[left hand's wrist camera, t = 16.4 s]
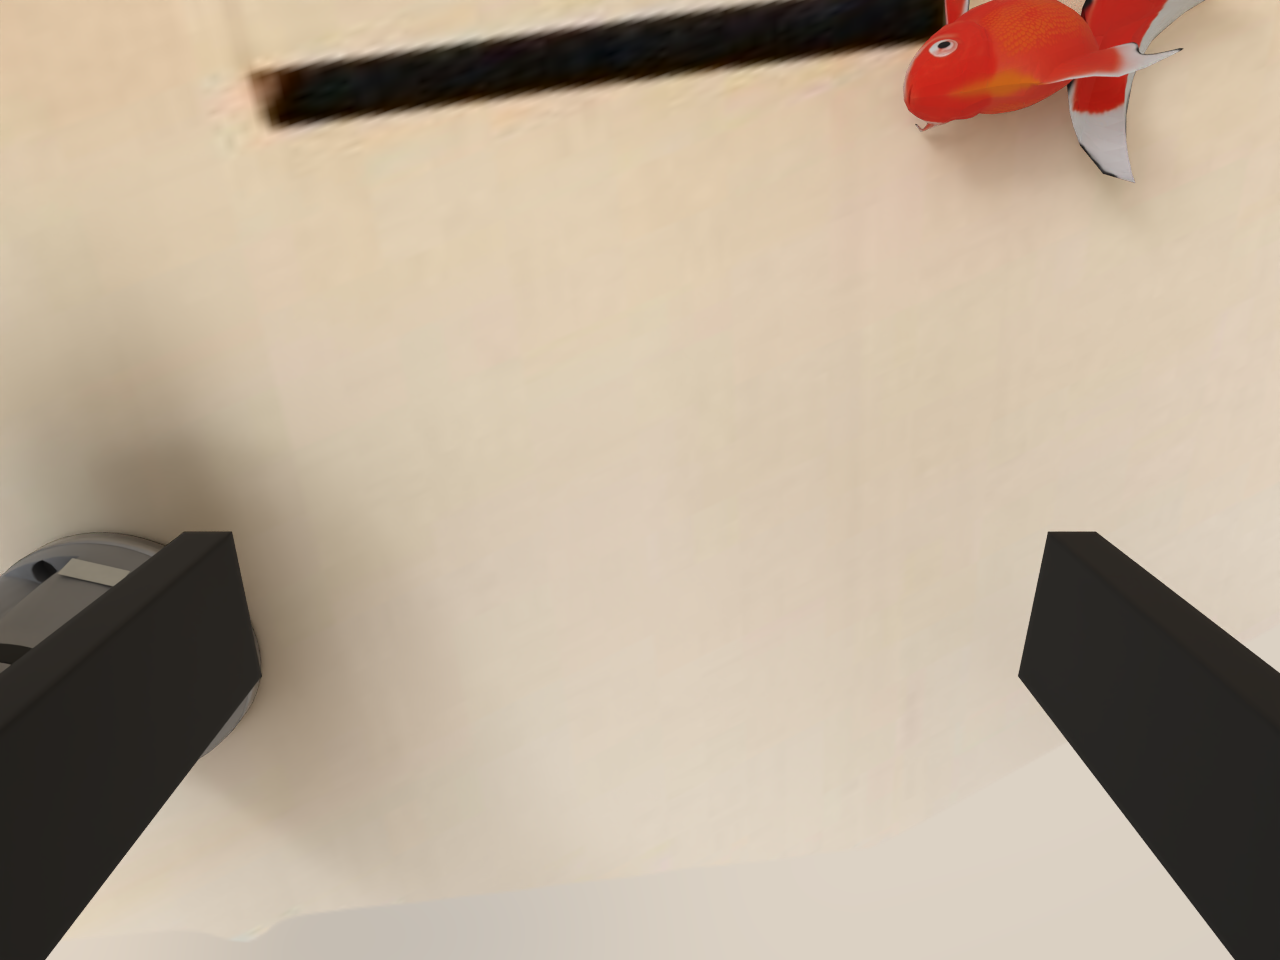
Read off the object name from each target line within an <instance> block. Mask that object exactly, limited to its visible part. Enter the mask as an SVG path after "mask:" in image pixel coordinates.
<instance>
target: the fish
mask: <svg viewBox="0 0 1280 960" xmlns="http://www.w3.org/2000/svg"><path fill="white" fill-rule="evenodd" d="M1203 1H1204V0H1086V1H1085V3H1084V5H1083V8H1082V13H1081V16H1080V15H1079V14H1078V13H1077V12H1075V11H1074V10H1073V9H1071V8H1069V7H1068V6H1066V5H1064V4H1062V3H1061V2H1059V1H1057V0H993V1H990V2H987V3H985V4H982V5H979V6H977V7H975V8H972V9H971V10H969V0H945V13H946V25H945V26H944V27H943V28H941V29H940V30H939V31H938V32H936V33H935V34H934V35H933V36H932V37H931V38H930V39H929V40H928V41H926V42H925V44H924V45H923V46H922V47H921V48H920V50H919V51H918V52H917V53H916V55H915V57H914V58H913V60H912V61H911V63H910V65H909V67H908V69H907V72H906V76H905V81H904V86H903V92H904V101H905V103H906V106H907V108H908V110H909V111H910V112H911V113H913V114H914V115H915V116H917V117H918V118H920V119H922V120H924V121H926V122H927V125H926V126H925V128H924V129H921V128H920V127H919V126H918V125H917V124H915V125H916V126H917V128H918V129H919V130H920V132H921V131H924V130H927V129H930V128H932V127H935V126H937V125H942V124H945V123H947V122H949V121H952V120H956V119H968V118H971V117H974V116H976V115H977V114H978V113H981V114H998V113H1004V112H1010V111H1015V110H1019V109H1022V108H1025V107H1028V106H1030V105H1033V104H1035V103H1037V102H1039V101H1041V100H1043V99H1045V98H1047V97H1048V96H1050V95H1052V94H1054V93H1055V92H1057V91H1058V90H1060V89H1061V88H1063V87H1064V86H1066V85H1067V88H1068V100H1069V110H1070V115H1071V119H1072V123H1073V127H1074V130H1075V133H1076V135H1077V138H1078V141H1079V143H1080V146H1081V147H1082V148H1083V149H1084V151H1085V152H1086V153H1087V154H1088V156H1089V157H1090V158H1091V159H1092V160H1093V162H1094V163H1095V164H1096V165H1097V167H1098V168H1099V169H1100V170H1101V172H1102V173H1103V174H1106V175H1110V176H1113V177H1117V178H1120V179H1123V180H1127V181H1130V182H1134V183H1135V180H1134V178H1133V175H1132V171H1131V166H1130V162H1129V156H1128V150H1127V142H1126V113H1127V108H1128V102H1129V97H1130V91H1131V85H1132V81H1133V78H1134V75H1135V72H1136V71H1137V70H1140V69H1143V68H1146V67H1148V66H1150V65H1152V64H1154V63H1156V62H1158V61H1160V60H1162V59H1164V58H1166V57H1169V56H1171V55H1173V54H1175V53H1177V52H1179V51H1181V50H1182V49H1184V48H1179V49H1175V50H1171V51H1166V52H1161V53H1157V54H1148V55H1147V54H1144V53H1145V51H1146V49H1147V47H1148V46H1149V44H1150V43H1151V41H1152V40H1153V39H1154V38H1155V37H1156V36H1157V35H1158V34H1160V33H1161V32H1162V31H1163V30H1164V29H1165V28H1166V27H1167V26H1169V25H1170V24H1171V23H1172V22H1173V21H1175V20H1176V19H1177V18H1178V17H1179V16H1181V15H1182V14H1183V13H1185V12H1186V11H1188V10H1189V9H1191V8H1193V7H1194V6H1196V5H1198V4H1199V3H1201V2H1203ZM968 10H969V11H968Z"/></svg>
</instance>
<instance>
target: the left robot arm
mask: <svg viewBox="0 0 1280 960" xmlns="http://www.w3.org/2000/svg"><path fill="white" fill-rule="evenodd" d="M261 677H262V674H261V660H260V651H259V647H258V642H257V639H256V636H255V633H254V630H253V628H252V626H251V621H250V616H249V612H248V607H247V602H246V597H245V592H244V588H243V583H242V578H241V573H240V568H239V563H238V559H237V554H236V549H235V544H234V539H233V535H232V532H183V533H182V534H181V535H179V536H178V537H177V538H175V539H174V540H173V541H171V542H170V543H169V544H168V545H166V546H164V545H161V544H159V543H156V542H153V541H150V540H147V539H143V538H139V537H135V536H130V535H124V534H116V533H86V534H78V535H73V536H68V537H65V538H61V539H58V540H55V541H53V542H51V543H48V544H46V545H44V546H42V547H41V548H39V549H37V550H36V551H34V552H32V553H31V554H29V555H27V556H26V557H24V558H23V559H21V560H19V561H18V562H17V563H15V564H14V565H13V566H11V567H10V568H9V569H8V570H7V571H6V572H5V573H4V574H2V575H1V576H0V960H45V959H46V958H47V957H48V955H49V954H50V953H51V951H52V950H53V949H54V948H55V946H56V945H57V944H58V942H59V941H60V940H61V938H62V937H63V936H64V934H65V933H66V932H67V931H68V929H69V928H70V927H71V925H72V924H73V923H74V921H75V920H76V919H77V917H78V916H79V915H80V914H81V912H82V911H83V910H84V908H85V907H86V906H87V904H88V903H89V902H90V900H91V899H92V898H93V897H94V895H95V894H96V893H97V891H98V890H99V889H100V887H101V886H102V885H103V883H104V882H105V881H106V880H107V878H108V877H109V876H110V874H111V873H112V872H113V870H114V869H115V868H116V866H117V865H118V864H119V862H120V861H121V860H122V859H123V857H124V856H125V855H126V853H127V852H128V851H129V849H130V848H131V847H132V845H133V844H134V843H135V842H136V840H137V839H138V838H139V836H140V835H141V834H142V832H143V831H144V830H145V828H146V827H147V826H148V825H149V823H150V822H151V821H152V819H153V818H154V817H155V815H156V814H157V813H158V811H159V810H160V809H161V808H162V806H163V805H164V804H165V802H166V801H167V800H168V798H169V797H170V796H171V794H172V793H173V792H174V791H175V789H176V788H177V787H178V785H179V784H180V783H181V781H182V780H183V779H184V777H185V776H186V775H187V773H188V772H189V771H190V770H191V768H192V767H193V766H194V764H195V763H196V762H197V760H198V759H199V758H201V757H203V756H204V755H206V754H207V753H208V752H210V751H211V750H212V749H214V748H215V747H216V746H217V745H218V744H219V743H220V742H221V741H222V740H223V739H224V738H226V737H227V736H228V735H229V734H230V733H231V731H232V730H233V729H234V728H235V727H236V725H237V724H238V723H239V721H240V720H241V718H242V717H243V716H244V714H245V713H246V712H247V710H248V709H249V707H250V706H251V704H252V702H253V700H254V698H255V695H256V693H257V689H258V685H259V681H260V678H261ZM1018 677H1019V678H1020V679H1021V681H1022V682H1023V683H1024V684H1025V686H1026V687H1027V688H1028V690H1029V691H1030V692H1031V694H1032V695H1033V696H1034V698H1035V699H1036V700H1037V702H1038V703H1039V704H1040V705H1041V707H1042V708H1043V709H1044V711H1045V712H1046V713H1047V715H1048V716H1049V717H1050V719H1051V720H1052V721H1053V722H1054V724H1055V725H1056V726H1057V728H1058V729H1059V730H1060V732H1061V733H1062V734H1063V736H1064V737H1065V738H1066V739H1067V741H1068V742H1069V743H1070V745H1071V746H1072V747H1073V749H1074V750H1075V751H1076V753H1077V754H1078V755H1079V756H1080V758H1081V759H1082V760H1083V762H1084V763H1085V764H1086V766H1087V767H1088V768H1089V770H1090V771H1091V772H1092V773H1093V775H1094V776H1095V777H1096V779H1097V780H1098V781H1099V783H1100V784H1101V785H1102V787H1103V788H1104V789H1105V791H1106V792H1107V793H1108V794H1109V796H1110V797H1111V798H1112V800H1113V801H1114V802H1115V804H1116V805H1117V806H1118V807H1119V809H1120V810H1121V811H1122V813H1123V814H1124V815H1125V817H1126V818H1127V819H1128V821H1129V822H1130V823H1131V825H1132V826H1133V827H1134V828H1135V830H1136V831H1137V832H1138V834H1139V835H1140V836H1141V838H1142V839H1143V840H1144V842H1145V843H1146V844H1147V845H1148V847H1149V848H1150V849H1151V851H1152V852H1153V853H1154V855H1155V856H1156V857H1157V859H1158V860H1159V861H1160V862H1161V864H1162V865H1163V866H1164V868H1165V869H1166V870H1167V872H1168V873H1169V874H1170V876H1171V877H1172V878H1173V880H1174V881H1175V882H1176V883H1177V885H1178V886H1179V887H1180V889H1181V890H1182V891H1183V892H1184V894H1185V895H1186V896H1187V898H1188V899H1189V900H1190V902H1191V903H1192V904H1193V906H1194V907H1195V908H1196V910H1197V911H1198V912H1199V914H1200V915H1201V916H1202V917H1203V919H1204V920H1205V921H1206V923H1207V924H1208V925H1209V927H1210V928H1211V929H1212V931H1213V932H1214V933H1215V934H1216V936H1217V937H1218V938H1219V940H1220V941H1221V942H1222V944H1223V945H1224V946H1225V948H1226V949H1227V950H1228V951H1229V953H1230V954H1231V955H1232V957H1233V958H1234V959H1235V960H1280V673H1279V672H1278V671H1276V670H1275V669H1274V668H1272V667H1271V666H1270V665H1268V664H1267V663H1266V662H1265V661H1263V660H1262V659H1261V658H1259V657H1258V656H1257V655H1255V654H1254V653H1253V652H1252V651H1250V650H1249V649H1248V648H1246V647H1245V646H1244V645H1242V644H1241V643H1240V642H1239V641H1237V640H1236V639H1235V638H1233V637H1232V636H1231V635H1229V634H1228V633H1227V632H1226V631H1224V630H1223V629H1222V628H1220V627H1219V626H1218V625H1216V624H1215V623H1214V622H1213V621H1211V620H1210V619H1209V618H1207V617H1206V616H1205V615H1203V614H1202V613H1201V612H1200V611H1198V610H1197V609H1196V608H1194V607H1193V606H1192V605H1190V604H1189V603H1188V602H1187V601H1185V600H1184V599H1183V598H1181V597H1180V596H1179V595H1177V594H1176V593H1175V592H1174V591H1172V590H1171V589H1170V588H1168V587H1167V586H1166V585H1164V584H1163V583H1162V582H1161V581H1159V580H1158V579H1157V578H1155V577H1154V576H1153V575H1151V574H1150V573H1149V572H1148V571H1146V570H1145V569H1144V568H1142V567H1141V566H1140V565H1138V564H1137V563H1136V562H1135V561H1133V560H1132V559H1131V558H1129V557H1128V556H1127V555H1125V554H1124V553H1123V552H1122V551H1120V550H1119V549H1118V548H1116V547H1115V546H1114V545H1112V544H1111V543H1110V542H1109V541H1107V540H1106V539H1105V538H1103V537H1102V536H1101V535H1099V534H1098V533H1097V532H1048V535H1047V539H1046V544H1045V549H1044V554H1043V559H1042V563H1041V568H1040V573H1039V578H1038V583H1037V588H1036V592H1035V597H1034V602H1033V607H1032V612H1031V616H1030V621H1029V626H1028V631H1027V636H1026V641H1025V645H1024V650H1023V655H1022V660H1021V665H1020V669H1019V674H1018Z"/></svg>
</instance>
